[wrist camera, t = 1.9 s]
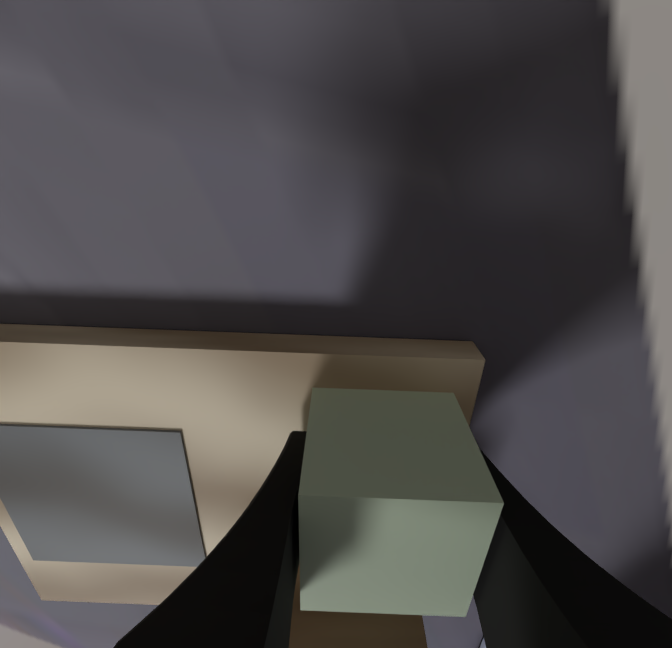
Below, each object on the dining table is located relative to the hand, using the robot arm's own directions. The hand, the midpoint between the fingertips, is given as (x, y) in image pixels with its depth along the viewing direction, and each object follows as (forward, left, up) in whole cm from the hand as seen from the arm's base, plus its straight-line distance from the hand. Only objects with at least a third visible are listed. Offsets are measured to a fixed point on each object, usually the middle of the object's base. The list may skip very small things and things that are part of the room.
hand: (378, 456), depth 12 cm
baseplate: (-3, +6, -2) cm, 7 cm away
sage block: (0, 0, -1) cm, 1 cm away
